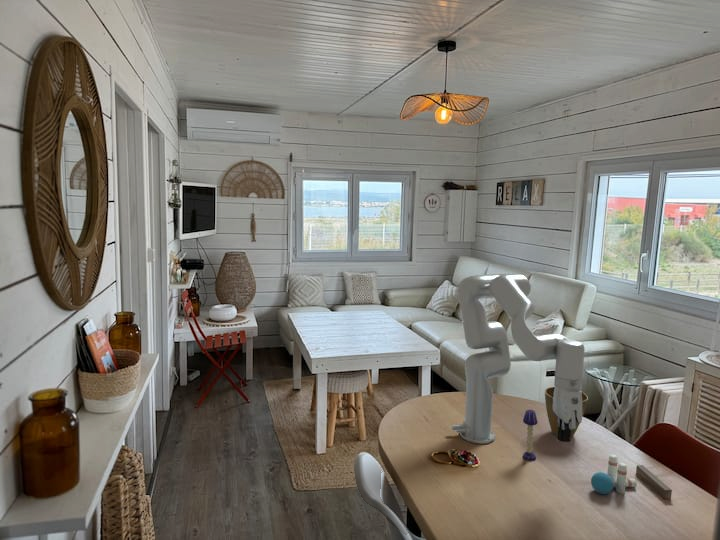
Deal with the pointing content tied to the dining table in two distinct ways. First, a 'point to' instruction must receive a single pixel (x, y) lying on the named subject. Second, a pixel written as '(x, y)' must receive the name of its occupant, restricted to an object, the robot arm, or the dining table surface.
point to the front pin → (628, 482)
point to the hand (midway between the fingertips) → (563, 440)
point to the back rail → (654, 482)
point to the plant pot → (552, 416)
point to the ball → (602, 483)
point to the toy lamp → (530, 433)
